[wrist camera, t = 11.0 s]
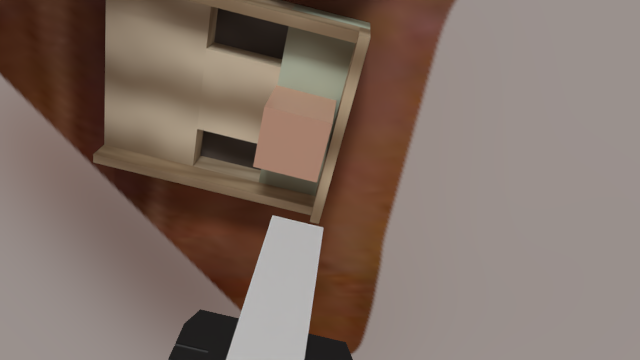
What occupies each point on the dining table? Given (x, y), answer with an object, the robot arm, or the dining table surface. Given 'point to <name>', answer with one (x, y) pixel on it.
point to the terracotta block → (294, 133)
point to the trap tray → (222, 90)
